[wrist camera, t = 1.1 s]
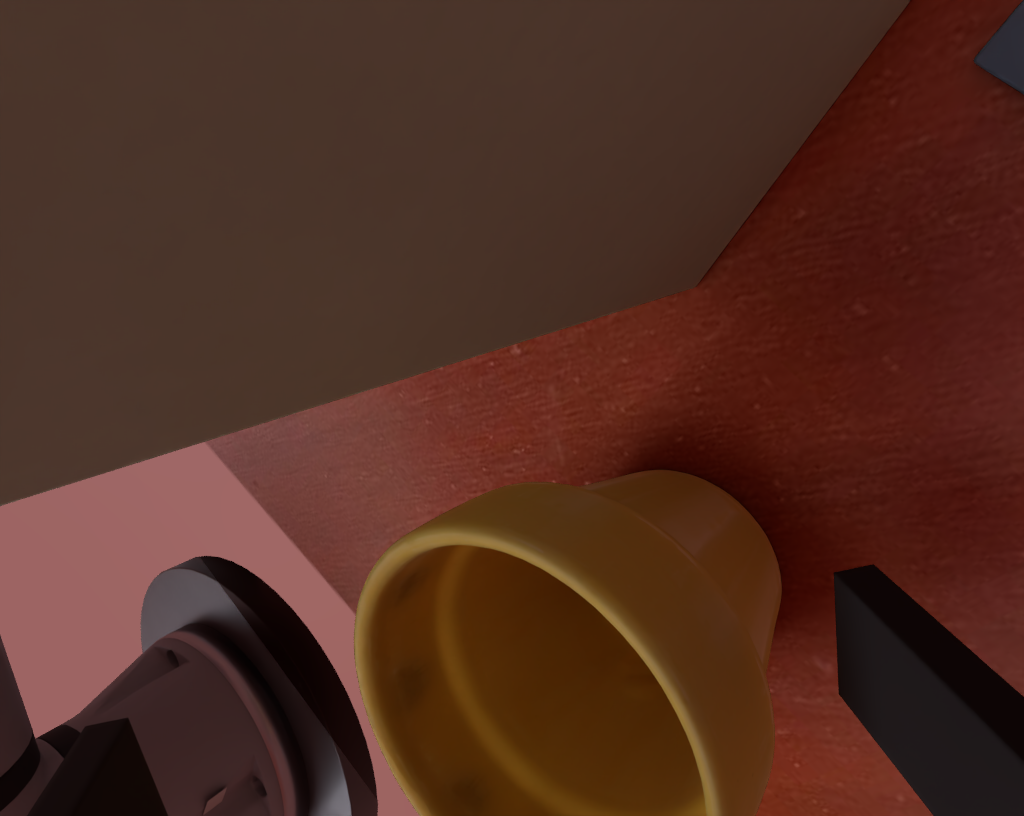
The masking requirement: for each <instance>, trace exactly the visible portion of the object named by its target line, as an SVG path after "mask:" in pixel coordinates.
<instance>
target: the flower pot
mask: <svg viewBox="0 0 1024 816" xmlns="http://www.w3.org/2000/svg"><path fill="white" fill-rule="evenodd" d="M781 594H782V583H781V575H780V570H779V565H778V562H777V558H776V556H775V553H774V551H773V548H772V546H771V544H770V542H769V540H768V538H767V536H766V534H765V533H764V531H763V530H762V528H761V527H760V525H759V524H758V523H757V522H756V520H755V519H754V518H753V516H752V515H751V514H750V513H749V512H748V511H747V510H746V509H745V508H744V507H743V506H742V505H741V504H740V503H739V502H738V501H737V500H736V499H734V498H733V497H732V496H731V495H730V494H728V493H727V492H725V491H724V490H722V489H721V488H719V487H717V486H715V485H714V484H712V483H710V482H708V481H706V480H704V479H701V478H699V477H696V476H693V475H690V474H687V473H683V472H678V471H671V470H649V471H642V472H637V473H632V474H628V475H624V476H621V477H617V478H613V479H609V480H605V481H601V482H596V483H592V484H588V485H584V486H579V487H577V486H572V485H568V484H560V483H551V482H525V483H518V484H512V485H507V486H504V487H501V488H498V489H495V490H492V491H489V492H487V493H485V494H482V495H480V496H478V497H476V498H473V499H471V500H469V501H467V502H465V503H463V504H461V505H459V506H457V507H455V508H453V509H451V510H449V511H447V512H445V513H443V514H441V515H439V516H438V517H436V518H434V519H432V520H430V521H429V522H427V523H425V524H423V525H422V526H420V527H418V528H416V529H415V530H413V531H411V532H410V533H408V534H406V535H405V536H403V537H402V538H400V539H399V540H398V541H396V542H395V543H394V544H393V545H392V546H390V547H389V548H388V549H387V550H386V552H385V553H384V554H383V555H382V556H381V557H380V559H379V560H378V561H377V562H376V564H375V566H374V567H373V569H372V570H371V572H370V574H369V576H368V577H367V579H366V582H365V584H364V587H363V589H362V592H361V595H360V599H359V602H358V606H357V611H356V619H355V630H354V655H355V665H356V672H357V677H358V682H359V687H360V692H361V695H362V699H363V702H364V706H365V709H366V713H367V716H368V719H369V722H370V725H371V727H372V729H373V732H374V734H375V737H376V740H377V742H378V744H379V746H380V748H381V750H382V753H383V755H384V757H385V759H386V761H387V763H388V765H389V767H390V769H391V771H392V773H393V775H394V777H395V779H396V780H397V782H398V784H399V785H400V787H401V789H402V790H403V792H404V793H405V795H406V797H407V798H408V800H409V801H410V802H411V804H412V806H413V807H414V809H415V810H416V811H417V813H418V814H419V815H420V816H756V813H757V811H758V808H759V805H760V802H761V800H762V797H763V794H764V791H765V789H766V786H767V783H768V780H769V776H770V772H771V768H772V763H773V756H774V743H775V725H774V713H773V706H772V699H771V694H770V690H769V686H768V682H767V678H766V671H767V666H768V661H769V656H770V651H771V645H772V640H773V635H774V629H775V624H776V620H777V615H778V611H779V607H780V603H781Z"/></svg>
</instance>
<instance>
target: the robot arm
mask: <svg viewBox="0 0 1024 816" xmlns="http://www.w3.org/2000/svg"><path fill="white" fill-rule="evenodd" d="M834 588H835V613H836V637H837V662H838V686H839V695H840V696H841V697H842V698H843V700H844V701H845V702H846V704H847V705H848V706H849V707H850V709H851V710H852V711H853V713H854V714H855V715H856V716H857V718H858V719H859V720H860V722H861V723H862V724H863V725H864V727H865V728H866V729H867V731H868V732H869V733H870V734H871V736H872V737H873V738H874V740H875V741H876V742H877V743H878V745H879V746H880V747H881V749H882V750H883V751H884V752H885V754H886V755H887V756H888V758H889V759H890V760H891V761H892V763H893V764H894V765H895V767H896V768H897V769H898V770H899V772H900V773H901V774H902V776H903V777H904V778H905V779H906V781H907V782H908V783H909V785H910V786H911V787H912V788H913V790H914V791H915V792H916V794H917V795H918V796H919V797H920V799H921V800H922V801H923V803H924V804H925V805H926V806H927V808H928V809H929V810H930V812H931V813H932V814H933V815H934V816H1024V697H1023V696H1022V695H1021V694H1020V693H1018V692H1017V691H1016V690H1015V689H1014V688H1013V687H1012V686H1011V685H1009V684H1008V683H1007V682H1006V681H1005V680H1004V679H1003V678H1001V677H1000V676H999V675H998V674H997V673H996V672H995V671H994V670H992V669H991V668H990V667H989V666H988V665H987V664H986V663H984V662H983V661H982V660H981V659H980V658H979V657H978V656H977V655H975V654H974V653H973V652H972V651H971V650H970V649H969V648H968V647H966V646H965V645H964V644H963V643H962V642H961V641H960V640H958V639H957V638H956V637H955V636H954V635H953V634H952V633H951V632H949V631H948V630H947V629H946V628H945V627H944V626H943V625H941V624H940V623H939V622H938V621H937V620H936V619H935V618H934V617H932V616H931V615H930V614H929V613H928V612H927V611H926V610H924V609H923V608H922V607H921V606H920V605H919V604H918V603H917V602H915V601H914V600H913V599H912V598H911V597H910V596H909V595H908V594H906V593H905V592H904V591H903V590H902V589H901V588H900V587H898V586H897V585H896V584H895V583H894V582H893V581H892V580H891V579H889V578H888V577H887V576H886V575H885V574H884V573H883V572H881V571H880V570H879V569H878V568H877V567H876V566H875V565H874V564H873V565H868V566H863V567H859V568H854V569H849V570H844V571H839V572H834ZM308 807H309V791H308V781H307V775H306V770H305V766H304V762H303V758H302V755H301V751H300V748H299V745H298V742H297V740H296V737H295V734H294V732H293V730H292V727H291V725H290V723H289V721H288V718H287V716H286V714H285V712H284V710H283V708H282V707H281V705H280V703H279V701H278V699H277V698H276V696H275V694H274V693H273V691H272V689H271V688H270V686H269V685H268V683H267V682H266V680H265V679H264V677H263V676H262V675H261V673H260V672H259V671H258V669H257V668H256V667H255V665H254V664H253V663H252V662H251V661H250V659H249V658H248V657H247V656H246V655H245V654H244V653H243V652H242V651H241V650H240V649H239V648H238V647H237V646H236V645H235V644H234V643H233V642H231V641H230V640H229V639H228V638H226V637H225V636H224V635H222V634H221V633H219V632H218V631H216V630H214V629H212V628H210V627H207V626H205V625H201V624H188V625H185V626H183V627H181V628H179V629H177V630H175V631H173V632H171V633H170V634H168V635H166V636H164V637H162V638H160V639H158V640H157V641H155V642H154V643H153V644H152V645H151V646H150V647H149V648H148V649H147V650H146V651H145V652H144V653H143V654H142V655H141V656H140V657H138V658H137V659H136V660H135V661H134V662H133V663H132V664H131V665H130V666H129V667H128V668H127V669H126V670H125V671H124V672H123V673H121V674H120V675H119V676H118V677H117V678H116V679H115V680H114V681H113V682H112V683H111V684H110V685H109V686H108V687H107V688H106V689H104V690H103V691H102V692H101V693H100V694H99V695H98V696H97V697H96V698H95V699H94V700H93V701H92V702H91V703H90V704H89V705H88V706H87V707H86V708H84V709H83V710H82V711H81V712H80V713H79V714H77V715H76V716H75V717H73V718H72V719H70V720H68V721H67V722H65V723H63V724H61V725H60V726H58V727H56V728H54V729H52V730H51V731H49V732H47V733H45V734H43V735H41V736H40V737H38V738H36V739H35V737H34V734H33V730H32V727H31V724H30V721H29V718H28V715H27V712H26V710H25V707H24V704H23V701H22V698H21V695H20V692H19V689H18V686H17V683H16V680H15V677H14V674H13V671H12V669H11V666H10V663H9V660H8V657H7V654H6V651H5V648H4V645H3V642H2V639H1V636H0V816H307V814H308Z"/></svg>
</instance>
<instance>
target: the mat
mask: <svg viewBox="0 0 1024 816" xmlns="http://www.w3.org/2000/svg"><path fill="white" fill-rule="evenodd" d="M974 62H975V64H976V65H978V66H979V67H981V68H983V69H984V70H986V71H987V72H989V73H990V74H992V75H994V76H995V77H997V78H998V79H1000V80H1002V81H1003V82H1005V83H1006V84H1008V85H1009V86H1011V87H1013V88H1014V89H1016V90H1017V91H1019V92H1021V93H1022V94H1024V0H1023V1H1022V2H1021V3H1020V4H1019V5H1018V7H1017V8H1016V9H1015V10H1014V11H1013V13H1012V14H1011V15H1010V16H1009V17H1008V19H1007V20H1006V21H1005V22H1004V23H1003V25H1002V26H1001V27H1000V28H999V29H998V30H997V32H996V33H995V34H994V35H993V36H992V38H991V39H990V40H989V41H988V42H987V44H986V45H985V46H984V47H983V48H982V50H981V51H980V52H979V53H978V54H977V56H976V57H975V58H974Z"/></svg>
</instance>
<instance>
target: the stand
mask: <svg viewBox="0 0 1024 816" xmlns="http://www.w3.org/2000/svg"><path fill="white" fill-rule="evenodd" d="M910 1H911V0H0V506H2V505H5V504H8V503H11V502H14V501H17V500H20V499H23V498H27V497H30V496H33V495H36V494H40V493H43V492H46V491H49V490H52V489H55V488H59V487H62V486H65V485H68V484H71V483H75V482H78V481H81V480H84V479H87V478H90V477H94V476H97V475H100V474H103V473H106V472H110V471H113V470H115V469H119V468H122V467H126V466H129V465H132V464H135V463H138V462H141V461H144V460H148V459H151V458H154V457H157V456H160V455H164V454H167V453H170V452H173V451H176V450H179V449H182V448H186V447H189V446H192V445H195V444H199V443H202V442H205V441H208V440H211V439H215V438H218V437H221V436H224V435H227V434H230V433H234V432H237V431H240V430H243V429H246V428H249V427H253V426H256V425H259V424H262V423H265V422H269V421H272V420H275V419H278V418H281V417H284V416H288V415H291V414H294V413H297V412H300V411H304V410H307V409H310V408H313V407H316V406H319V405H323V404H326V403H329V402H332V401H335V400H338V399H342V398H345V397H348V396H351V395H354V394H358V393H361V392H364V391H367V390H370V389H373V388H377V387H380V386H383V385H386V384H389V383H393V382H396V381H399V380H402V379H405V378H408V377H412V376H415V375H418V374H421V373H424V372H428V371H431V370H434V369H437V368H440V367H443V366H447V365H450V364H453V363H456V362H459V361H462V360H466V359H469V358H472V357H475V356H478V355H482V354H485V353H488V352H491V351H494V350H497V349H501V348H504V347H507V346H510V345H513V344H517V343H520V342H523V341H526V340H529V339H532V338H536V337H539V336H542V335H545V334H548V333H551V332H555V331H558V330H561V329H564V328H567V327H571V326H574V325H577V324H580V323H583V322H586V321H590V320H593V319H596V318H599V317H602V316H606V315H609V314H612V313H615V312H618V311H621V310H625V309H628V308H631V307H634V306H637V305H640V304H644V303H647V302H650V301H653V300H656V299H660V298H663V297H666V296H669V295H672V294H675V293H679V292H682V291H685V290H688V289H691V288H694V287H696V286H697V284H698V283H699V282H700V280H701V279H702V278H703V276H704V275H705V274H706V272H707V271H708V270H709V268H710V267H711V266H712V264H713V263H714V262H715V260H716V259H717V258H718V256H719V255H720V254H721V252H722V251H723V250H724V248H725V247H726V246H727V244H728V243H729V242H730V240H731V239H732V238H733V236H734V235H735V234H736V232H737V231H738V230H739V228H740V227H741V226H742V224H743V223H744V222H745V220H746V219H747V218H748V216H749V215H750V214H751V212H752V211H753V210H754V208H755V207H756V206H757V204H758V203H759V202H760V200H761V199H762V198H763V196H764V195H765V194H766V192H767V191H768V190H769V188H770V187H771V186H772V185H773V183H774V182H775V181H776V179H777V178H778V177H779V175H780V174H781V173H782V171H783V170H784V169H785V167H786V166H787V165H788V163H789V162H790V161H791V159H792V158H793V157H794V155H795V154H796V153H797V151H798V150H799V149H800V147H801V146H802V145H803V143H804V142H805V141H806V139H807V138H808V137H809V135H810V134H811V133H812V131H813V130H814V129H815V127H816V126H817V125H818V123H819V122H820V121H821V119H822V118H823V117H824V115H825V114H826V113H827V111H828V110H829V109H830V107H831V106H832V105H833V103H834V102H835V101H836V99H837V98H838V97H839V95H840V94H841V93H842V91H843V90H844V89H845V87H846V86H847V85H848V83H849V82H850V81H851V79H852V78H853V77H854V75H855V74H856V73H857V71H858V70H859V69H860V67H861V66H862V65H863V63H864V62H865V61H866V59H867V58H868V57H869V55H870V54H871V53H872V51H873V50H874V49H875V47H876V46H877V45H878V43H879V42H880V41H881V39H882V38H883V37H884V35H885V34H886V33H887V31H888V30H889V29H890V27H891V26H892V25H893V23H894V22H895V21H896V19H897V18H898V17H899V15H900V14H901V13H902V11H903V10H904V9H905V7H906V6H907V5H908V3H909V2H910Z"/></svg>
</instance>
